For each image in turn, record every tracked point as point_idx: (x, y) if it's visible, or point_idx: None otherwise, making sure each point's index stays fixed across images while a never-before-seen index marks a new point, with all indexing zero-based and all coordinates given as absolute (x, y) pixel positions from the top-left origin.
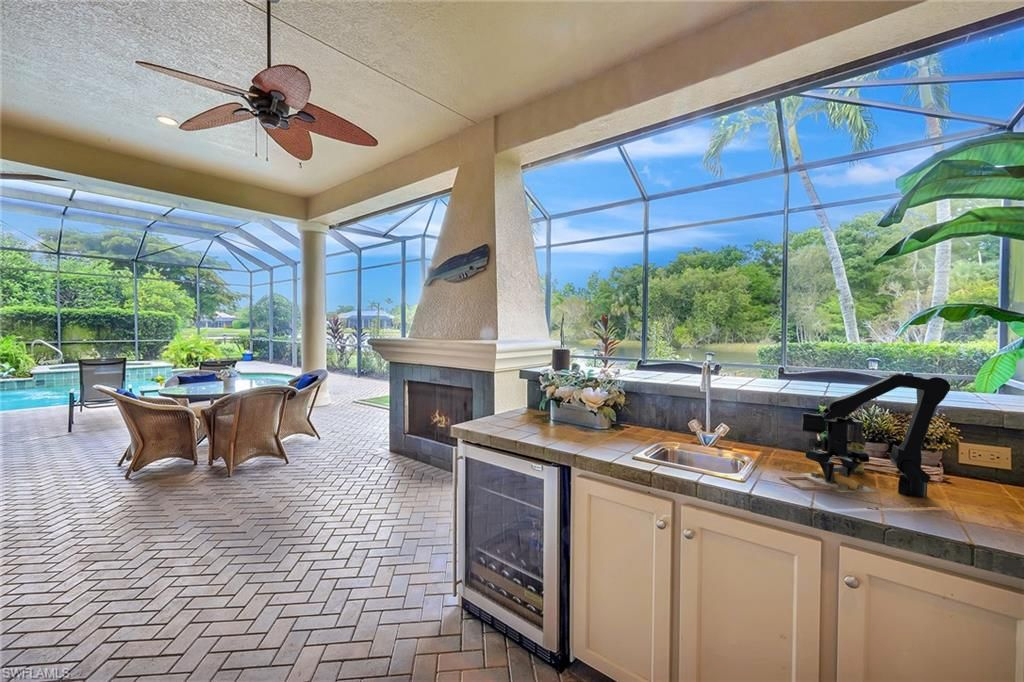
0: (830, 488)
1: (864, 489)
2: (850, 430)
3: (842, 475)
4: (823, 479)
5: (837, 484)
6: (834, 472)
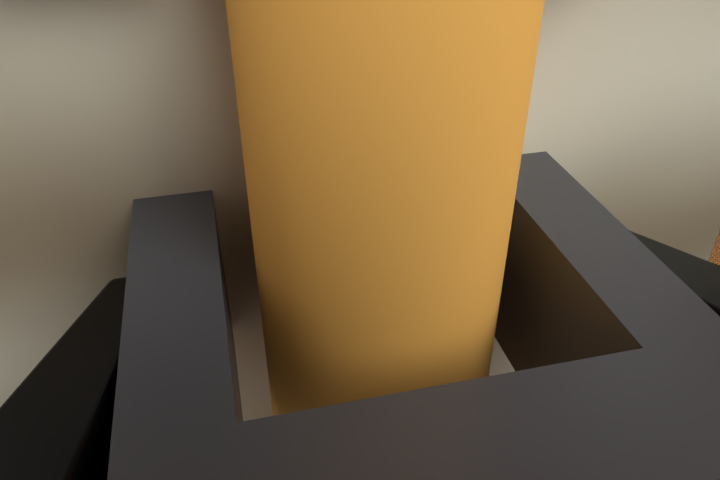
0: None
1: None
2: None
3: (539, 357)
4: (153, 96)
5: (264, 365)
6: (445, 310)
